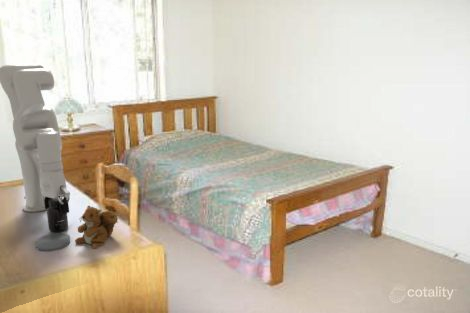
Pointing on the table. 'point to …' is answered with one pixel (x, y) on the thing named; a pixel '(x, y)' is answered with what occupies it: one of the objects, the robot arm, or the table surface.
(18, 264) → the table surface
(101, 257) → the table surface
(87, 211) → the stuffed squirrel
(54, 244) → the slate plate
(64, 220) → the supplement bottle
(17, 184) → the table surface
